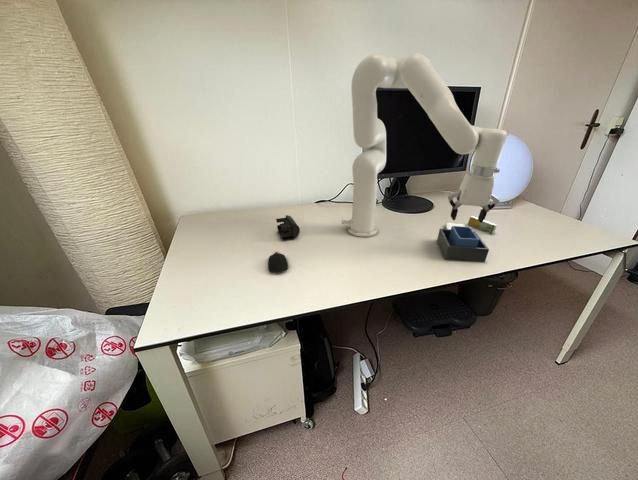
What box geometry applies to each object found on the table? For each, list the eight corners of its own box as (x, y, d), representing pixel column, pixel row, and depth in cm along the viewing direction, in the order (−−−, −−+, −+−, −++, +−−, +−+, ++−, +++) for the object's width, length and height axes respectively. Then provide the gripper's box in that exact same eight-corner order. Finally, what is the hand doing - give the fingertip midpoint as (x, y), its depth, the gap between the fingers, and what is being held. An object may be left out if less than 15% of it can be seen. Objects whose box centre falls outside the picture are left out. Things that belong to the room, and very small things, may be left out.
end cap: (300, 238, 110) (299, 223, 106) (283, 241, 108) (281, 225, 104) (294, 229, 118) (292, 214, 114) (277, 231, 115) (275, 216, 111)
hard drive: (463, 227, 125) (468, 239, 115) (445, 225, 126) (447, 237, 116) (464, 224, 124) (469, 235, 114) (445, 222, 125) (448, 233, 115)
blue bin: (454, 255, 101) (459, 238, 97) (447, 241, 110) (451, 225, 106) (473, 256, 101) (479, 239, 97) (465, 243, 110) (470, 226, 106)
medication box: (494, 233, 121) (498, 224, 119) (491, 234, 119) (495, 225, 117) (469, 223, 128) (472, 215, 126) (466, 224, 127) (469, 216, 125)
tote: (445, 259, 100) (448, 246, 97) (437, 240, 113) (439, 228, 110) (484, 262, 99) (489, 249, 96) (471, 242, 112) (475, 230, 109)
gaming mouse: (285, 251, 101) (284, 242, 99) (289, 273, 89) (288, 263, 87) (267, 253, 99) (265, 243, 97) (269, 276, 88) (267, 265, 85)
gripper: (504, 170, 93) (487, 218, 102) (452, 166, 93) (440, 214, 103) (513, 176, 86) (494, 226, 96) (458, 171, 87) (444, 222, 97)
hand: (466, 219), depth 99 cm, fingers open, 9 cm apart
